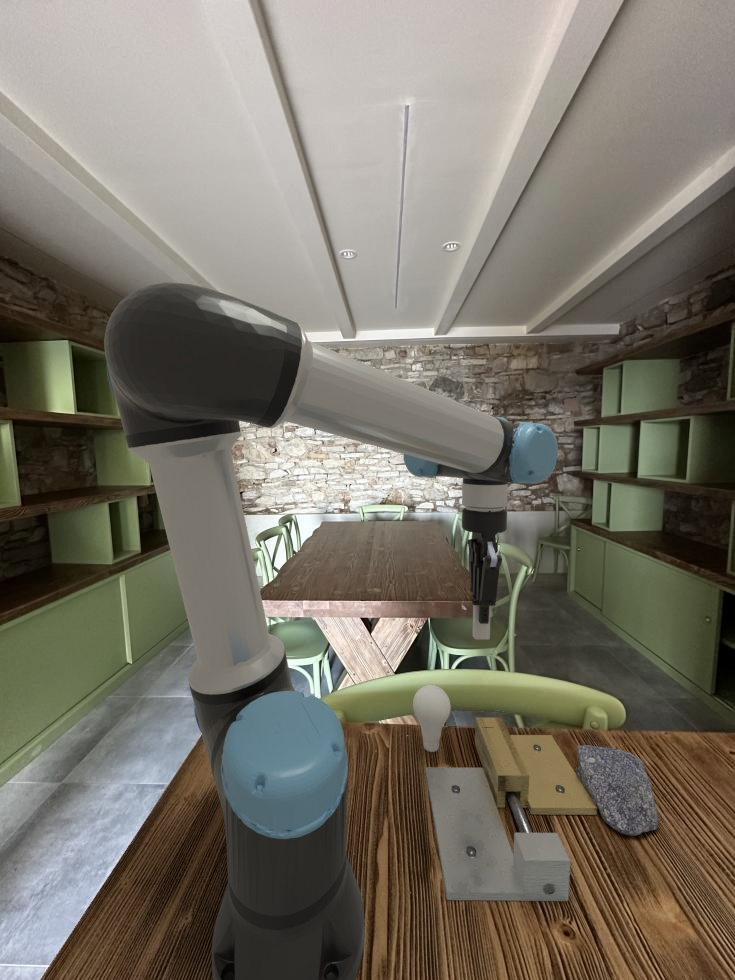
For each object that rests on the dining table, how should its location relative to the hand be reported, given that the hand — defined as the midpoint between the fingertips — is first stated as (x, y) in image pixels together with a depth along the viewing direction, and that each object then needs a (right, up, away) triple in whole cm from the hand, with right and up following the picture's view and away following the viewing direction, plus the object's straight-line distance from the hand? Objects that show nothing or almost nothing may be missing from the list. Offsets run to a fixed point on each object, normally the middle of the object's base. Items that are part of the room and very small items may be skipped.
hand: (481, 637), depth 72 cm
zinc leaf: (-5, -18, -16) cm, 24 cm away
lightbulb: (-10, -17, -5) cm, 20 cm away
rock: (+16, -18, -15) cm, 28 cm away
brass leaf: (+4, -17, -10) cm, 21 cm away
